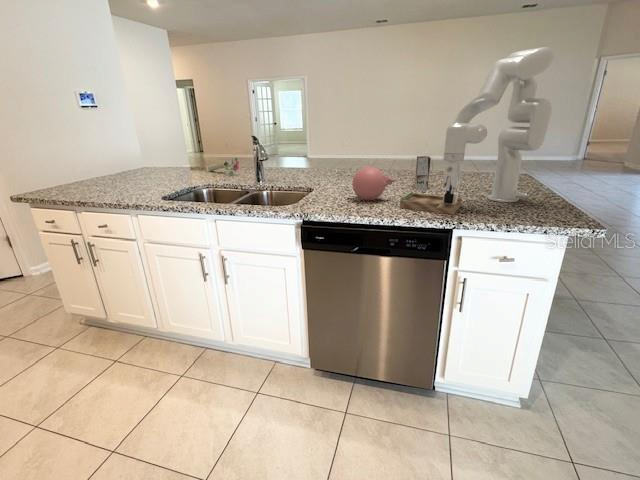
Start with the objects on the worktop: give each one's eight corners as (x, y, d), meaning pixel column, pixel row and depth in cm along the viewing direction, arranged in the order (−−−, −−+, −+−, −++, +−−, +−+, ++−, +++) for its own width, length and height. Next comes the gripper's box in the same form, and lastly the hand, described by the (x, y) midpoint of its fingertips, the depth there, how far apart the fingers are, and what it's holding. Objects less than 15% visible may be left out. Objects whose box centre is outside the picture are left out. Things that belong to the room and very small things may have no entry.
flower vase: (217, 181, 252) (248, 174, 230) (203, 178, 242) (233, 171, 221) (217, 165, 252) (248, 157, 231) (202, 162, 243) (233, 153, 221)
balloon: (393, 205, 149) (395, 170, 143) (349, 203, 154) (349, 169, 149) (396, 197, 163) (398, 164, 157) (355, 195, 168) (355, 164, 163)
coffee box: (428, 189, 177) (431, 158, 171) (415, 189, 178) (417, 157, 173) (426, 185, 186) (429, 155, 180) (414, 185, 187) (416, 155, 181)
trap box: (460, 205, 146) (462, 195, 144) (453, 214, 134) (454, 203, 132) (410, 200, 156) (411, 190, 155) (399, 208, 145) (400, 197, 143)
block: (457, 201, 144) (458, 192, 143) (454, 204, 140) (456, 195, 139) (445, 200, 147) (446, 191, 145) (442, 203, 143) (443, 194, 141)
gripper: (460, 160, 125) (454, 208, 131) (467, 155, 137) (461, 200, 143) (439, 159, 129) (434, 206, 135) (447, 155, 140) (442, 198, 147)
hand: (448, 202), depth 139 cm, fingers closed
